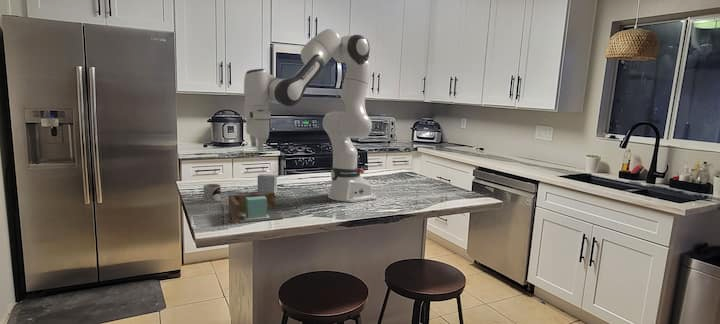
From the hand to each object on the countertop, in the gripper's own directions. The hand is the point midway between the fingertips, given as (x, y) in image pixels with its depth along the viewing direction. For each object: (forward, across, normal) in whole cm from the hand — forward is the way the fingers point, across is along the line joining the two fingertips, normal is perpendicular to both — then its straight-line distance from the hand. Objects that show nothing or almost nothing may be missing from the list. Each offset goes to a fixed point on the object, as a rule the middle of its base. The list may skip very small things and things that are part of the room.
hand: (256, 148), depth 160 cm
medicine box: (+26, -25, +11) cm, 38 cm away
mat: (+25, +8, -2) cm, 26 cm away
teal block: (+24, +8, -3) cm, 26 cm away
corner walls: (+25, +7, -3) cm, 26 cm away
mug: (+25, -21, -13) cm, 35 cm away
